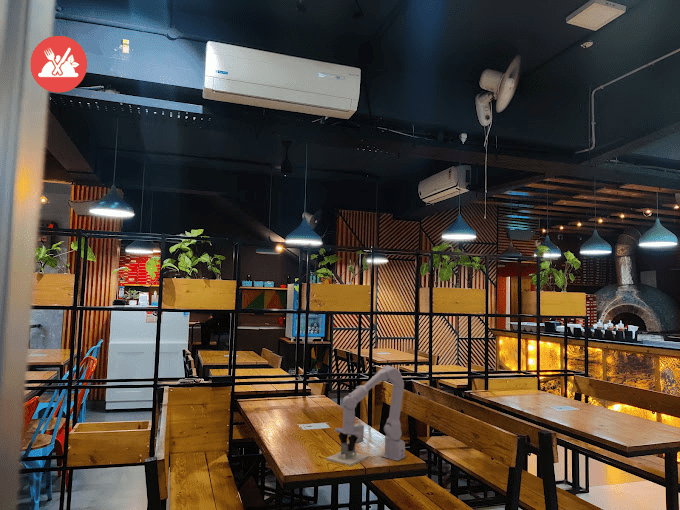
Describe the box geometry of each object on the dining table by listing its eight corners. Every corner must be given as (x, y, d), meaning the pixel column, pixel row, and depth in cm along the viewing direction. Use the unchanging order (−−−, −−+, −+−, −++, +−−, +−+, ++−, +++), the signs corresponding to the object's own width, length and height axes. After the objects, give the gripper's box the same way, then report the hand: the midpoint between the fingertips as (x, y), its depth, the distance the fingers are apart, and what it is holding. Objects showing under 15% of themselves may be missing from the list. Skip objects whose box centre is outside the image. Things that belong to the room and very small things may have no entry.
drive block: (354, 452, 244) (355, 441, 245) (346, 455, 238) (347, 444, 239) (349, 450, 246) (349, 440, 247) (340, 454, 240) (341, 443, 241)
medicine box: (357, 439, 276) (357, 423, 277) (363, 440, 273) (363, 424, 274) (348, 442, 270) (348, 425, 270) (354, 444, 267) (355, 427, 268)
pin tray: (368, 457, 244) (368, 450, 245) (350, 466, 231) (350, 458, 232) (345, 452, 253) (345, 444, 253) (326, 460, 239) (326, 452, 240)
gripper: (331, 420, 244) (330, 448, 243) (356, 425, 236) (355, 455, 235) (340, 417, 250) (339, 445, 249) (364, 422, 242) (363, 451, 241)
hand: (347, 450), depth 242 cm, fingers closed on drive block, 3 cm apart
